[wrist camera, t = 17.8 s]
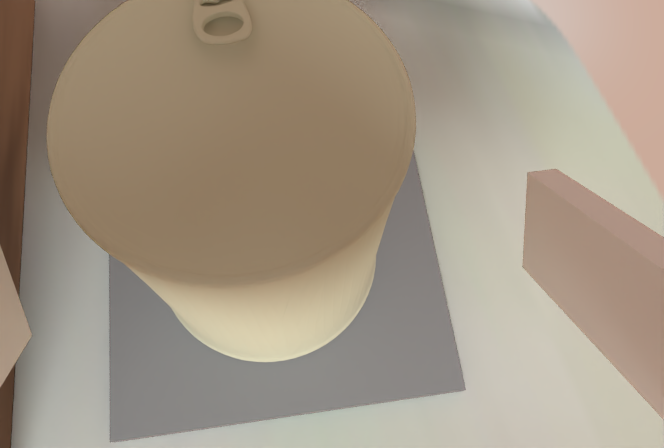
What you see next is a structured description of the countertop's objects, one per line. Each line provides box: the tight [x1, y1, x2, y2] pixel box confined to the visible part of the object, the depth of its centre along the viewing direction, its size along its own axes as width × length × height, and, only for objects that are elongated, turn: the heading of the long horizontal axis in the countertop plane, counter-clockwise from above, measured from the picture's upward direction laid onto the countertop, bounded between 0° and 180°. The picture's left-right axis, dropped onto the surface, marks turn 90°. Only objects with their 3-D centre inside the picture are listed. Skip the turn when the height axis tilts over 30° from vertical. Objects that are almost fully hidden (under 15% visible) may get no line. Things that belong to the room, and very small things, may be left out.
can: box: [46, 0, 416, 362], centre depth 19 cm, size 9×9×12 cm
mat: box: [109, 151, 466, 442], centre depth 25 cm, size 14×14×1 cm
